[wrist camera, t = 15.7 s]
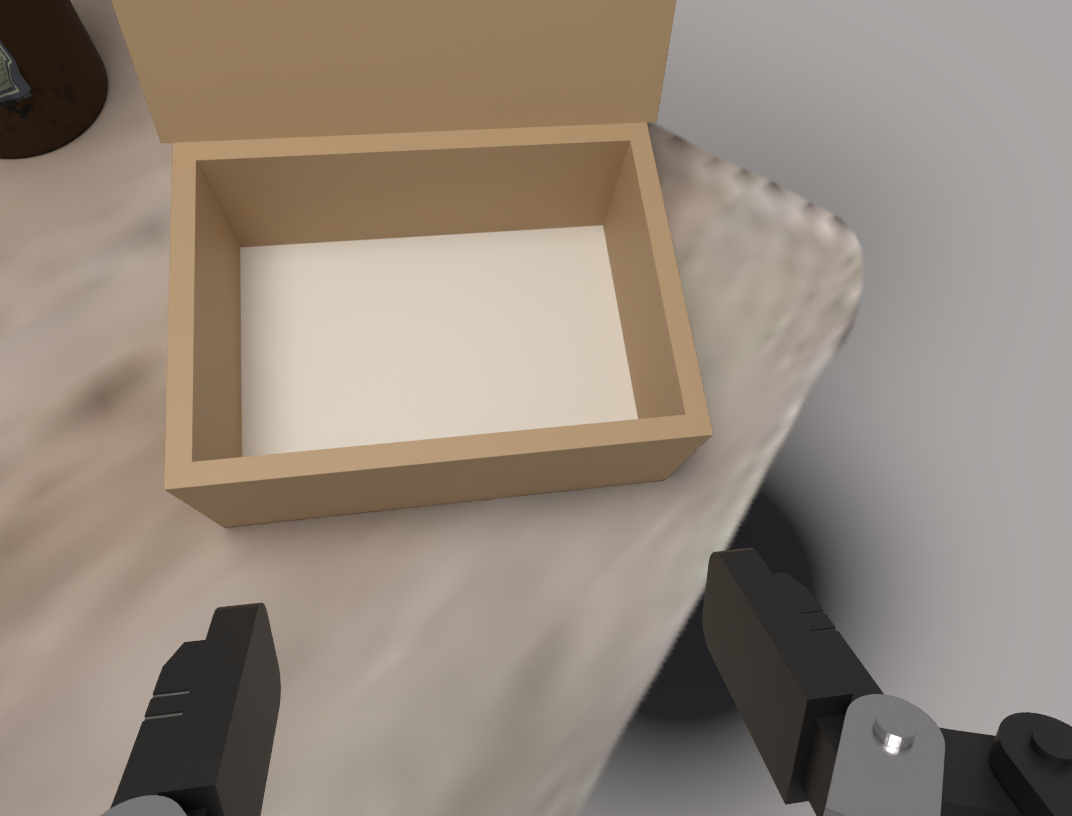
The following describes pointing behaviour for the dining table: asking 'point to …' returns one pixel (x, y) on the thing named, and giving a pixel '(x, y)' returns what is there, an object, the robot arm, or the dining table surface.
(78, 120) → the olive oil
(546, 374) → the mailer box
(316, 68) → the lid
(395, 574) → the dining table surface
